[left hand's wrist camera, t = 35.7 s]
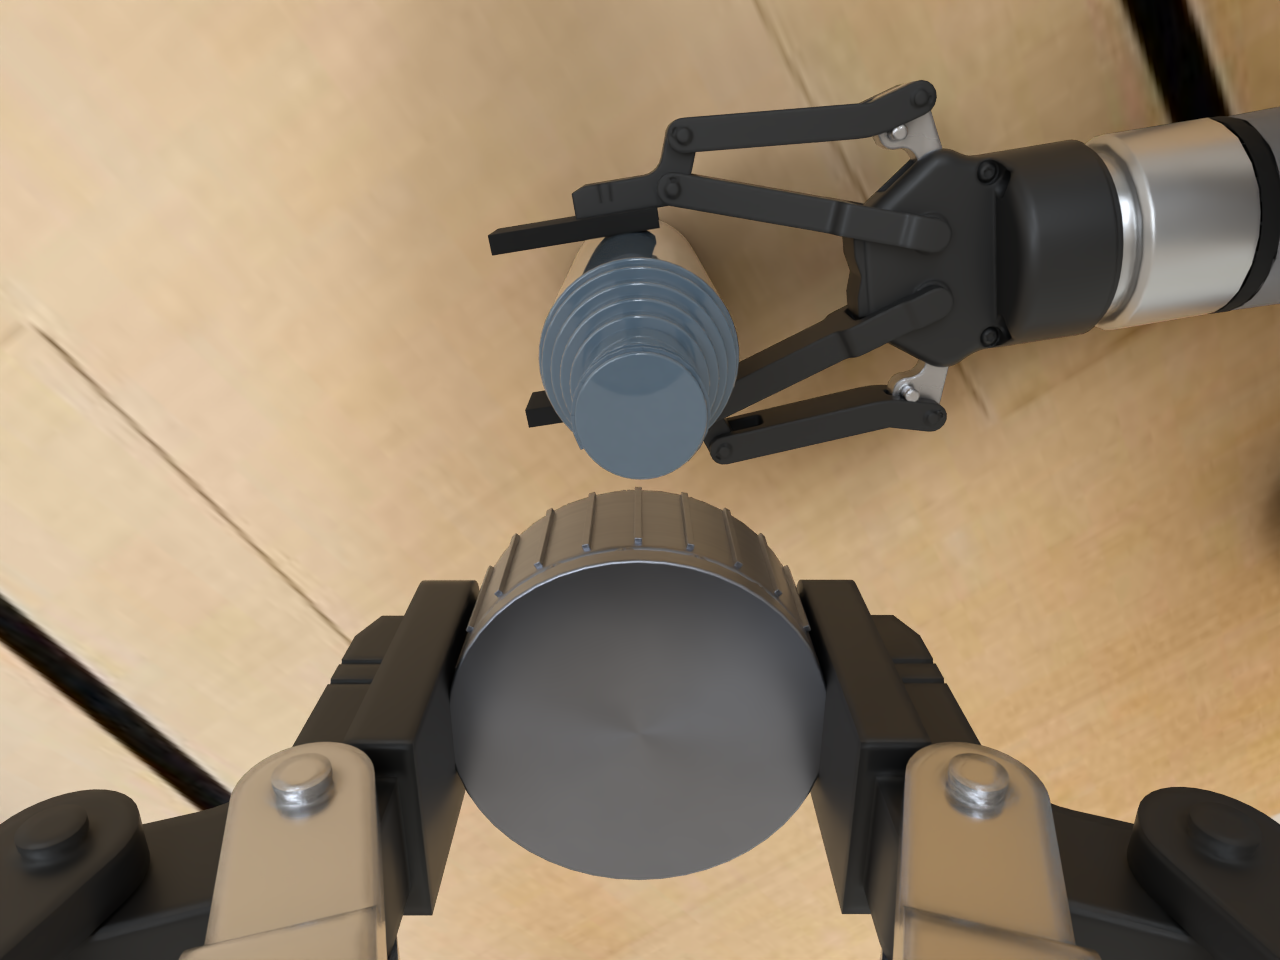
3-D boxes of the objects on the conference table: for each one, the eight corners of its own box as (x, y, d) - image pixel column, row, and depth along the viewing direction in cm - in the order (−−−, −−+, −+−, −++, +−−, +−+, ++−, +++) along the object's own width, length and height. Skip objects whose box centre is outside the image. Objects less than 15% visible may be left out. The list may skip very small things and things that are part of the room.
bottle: (673, 194, 41) (717, 248, 20) (719, 319, 43) (800, 483, 22) (550, 246, 41) (470, 348, 21) (601, 366, 43) (574, 566, 23)
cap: (431, 711, 13) (392, 818, 11) (540, 432, 11) (519, 496, 9) (721, 808, 13) (735, 925, 11) (861, 556, 12) (906, 640, 10)
